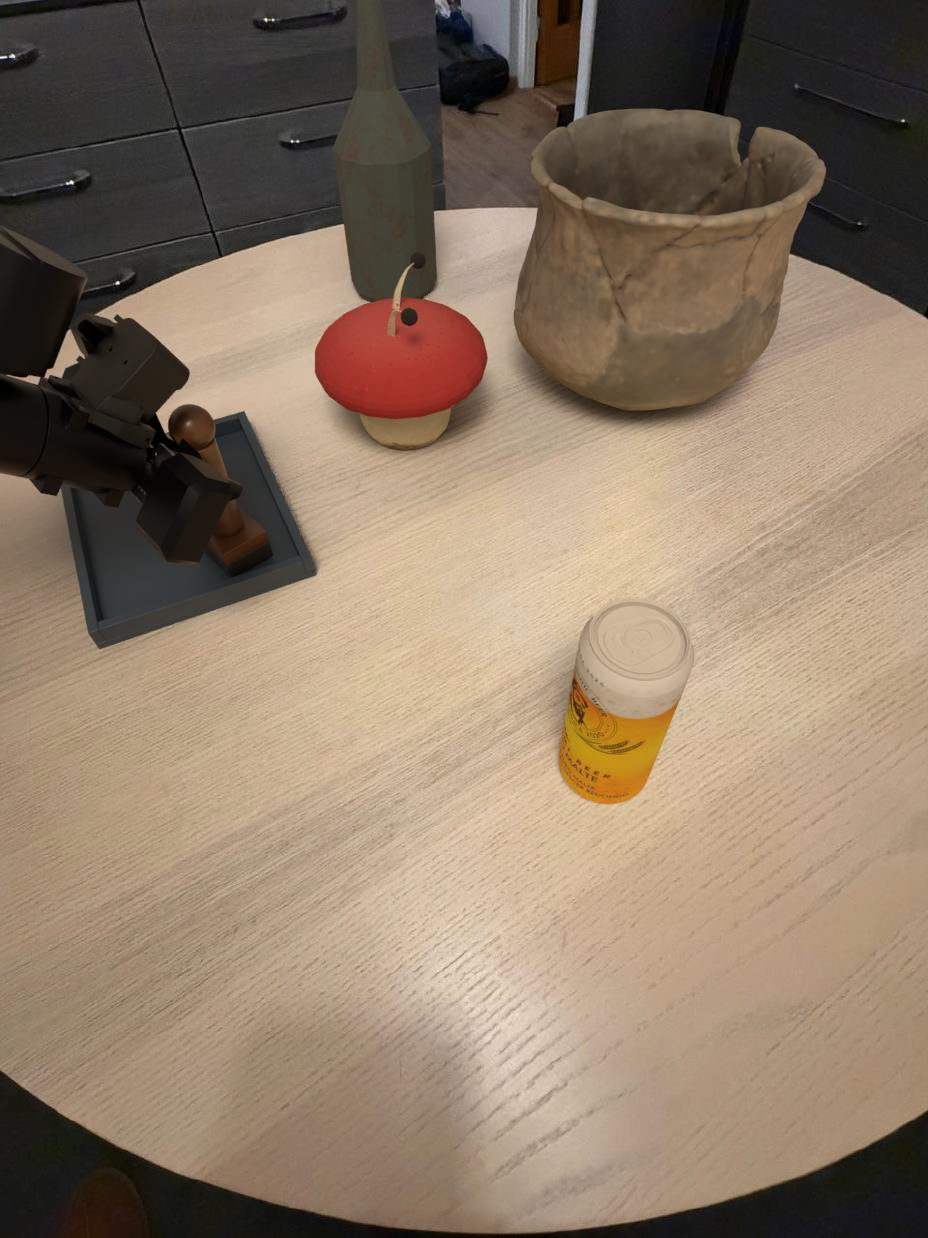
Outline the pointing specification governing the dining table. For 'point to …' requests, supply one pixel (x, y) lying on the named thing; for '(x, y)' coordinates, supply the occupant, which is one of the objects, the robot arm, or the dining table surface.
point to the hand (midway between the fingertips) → (230, 482)
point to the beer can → (623, 697)
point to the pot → (659, 253)
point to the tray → (171, 592)
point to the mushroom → (401, 365)
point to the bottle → (384, 174)
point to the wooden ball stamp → (236, 532)
